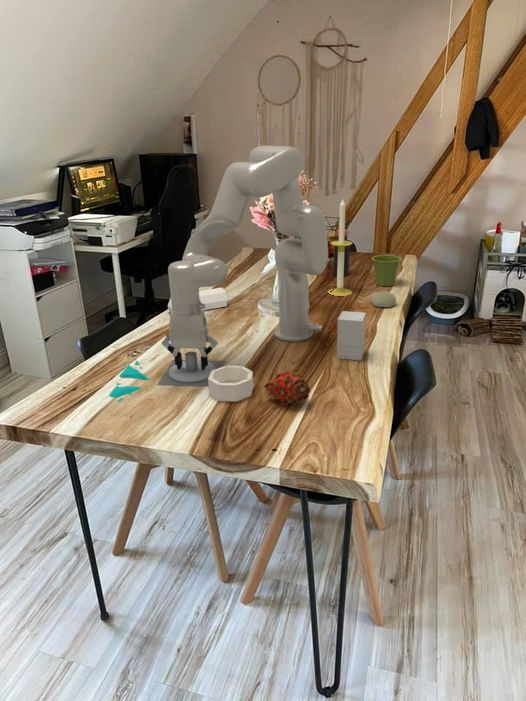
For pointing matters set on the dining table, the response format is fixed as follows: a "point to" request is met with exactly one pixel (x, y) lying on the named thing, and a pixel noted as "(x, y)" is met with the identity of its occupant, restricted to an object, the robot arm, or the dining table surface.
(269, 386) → the dragon fruit
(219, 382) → the bowl
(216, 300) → the crystal
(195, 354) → the lid
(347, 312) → the supplement box
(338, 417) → the dining table surface
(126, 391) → the cloth
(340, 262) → the candle
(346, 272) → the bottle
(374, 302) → the sea urchin shell
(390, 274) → the plant pot
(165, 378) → the mat
